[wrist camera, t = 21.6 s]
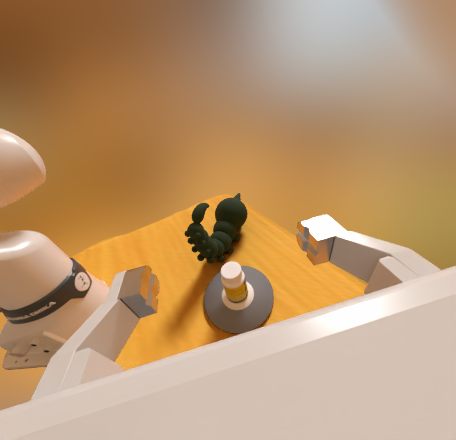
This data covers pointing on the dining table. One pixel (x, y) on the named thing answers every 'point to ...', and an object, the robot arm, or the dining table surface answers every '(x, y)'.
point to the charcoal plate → (244, 312)
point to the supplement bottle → (234, 282)
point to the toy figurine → (217, 229)
